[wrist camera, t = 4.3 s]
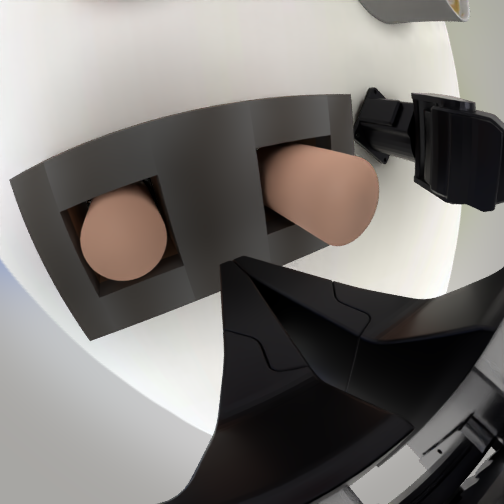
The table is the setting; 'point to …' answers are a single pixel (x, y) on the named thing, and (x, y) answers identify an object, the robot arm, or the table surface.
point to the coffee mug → (417, 10)
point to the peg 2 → (319, 189)
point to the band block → (177, 201)
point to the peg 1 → (123, 233)
